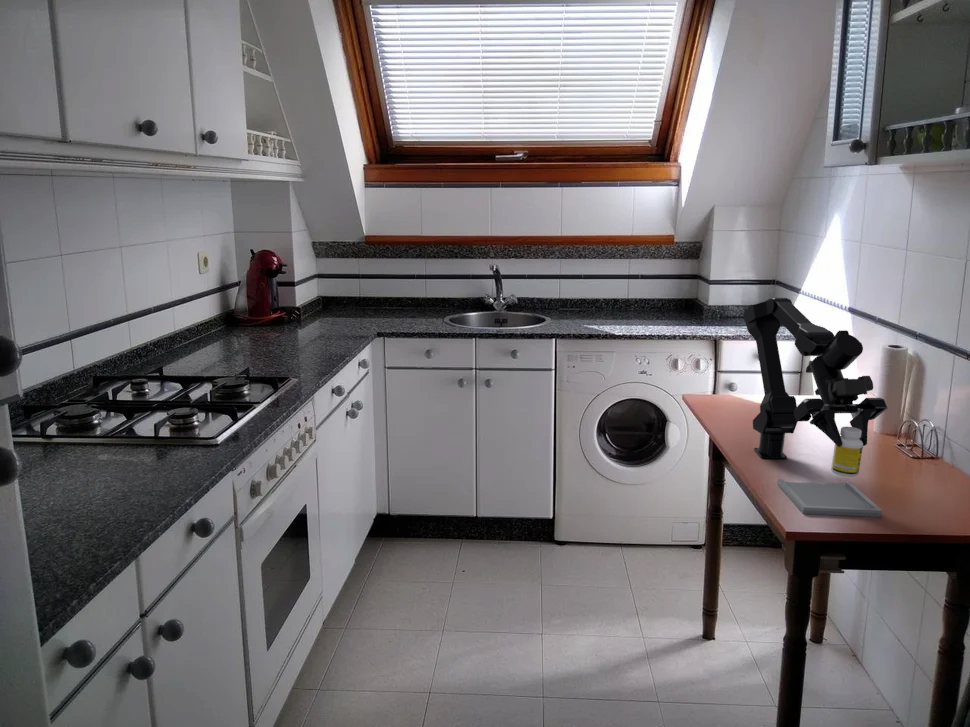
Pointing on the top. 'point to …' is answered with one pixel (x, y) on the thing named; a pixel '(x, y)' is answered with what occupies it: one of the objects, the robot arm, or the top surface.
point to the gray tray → (829, 499)
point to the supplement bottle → (848, 453)
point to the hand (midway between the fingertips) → (852, 445)
